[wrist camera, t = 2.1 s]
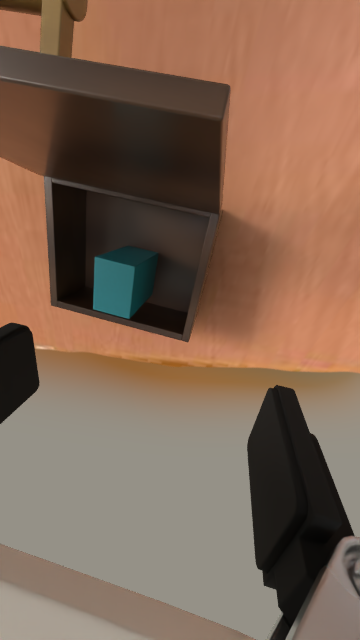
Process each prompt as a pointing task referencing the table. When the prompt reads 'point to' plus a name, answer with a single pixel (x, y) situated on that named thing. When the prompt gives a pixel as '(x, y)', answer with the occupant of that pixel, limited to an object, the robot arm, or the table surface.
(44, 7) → the lid
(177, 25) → the table surface
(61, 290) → the chest
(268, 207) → the table surface
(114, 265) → the block
